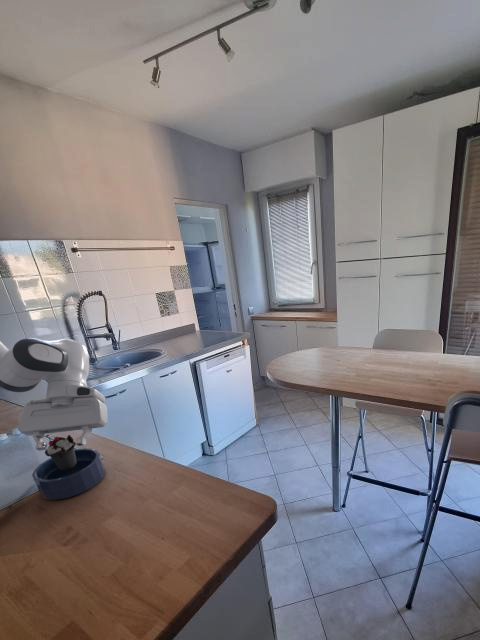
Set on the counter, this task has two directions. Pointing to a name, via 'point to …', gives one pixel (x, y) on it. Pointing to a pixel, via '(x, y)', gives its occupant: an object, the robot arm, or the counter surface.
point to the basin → (64, 485)
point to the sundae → (62, 453)
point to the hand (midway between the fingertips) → (61, 447)
